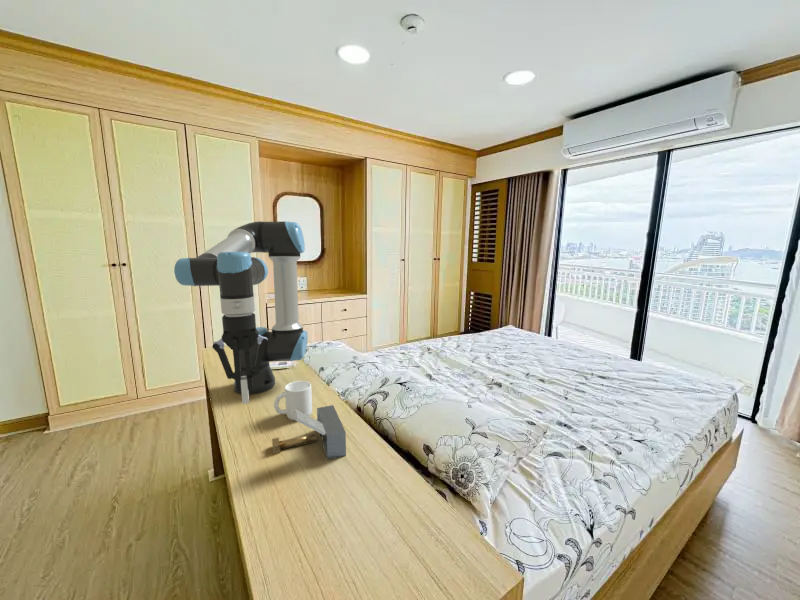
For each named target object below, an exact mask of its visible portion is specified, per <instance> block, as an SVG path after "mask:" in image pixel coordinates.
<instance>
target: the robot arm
mask: <svg viewBox="0 0 800 600" xmlns="http://www.w3.org/2000/svg"><path fill="white" fill-rule="evenodd" d="M305 246H306V244H305V239H304V234H303V230H302V228H301V226H300V225H299V223H297V222H295V221H287V220H286V221H253V222H249V223H246V224H243V225H240V226H238V227H236V228H234V229H233V230H231V231H230V232H229V233H228V235H227V236H226V238H225V239H223V240H221V241H220V242H218V243H217V244H216V245H214V246H211V248H209V249H207V250H206V251H205V252H202V254H200V255H198V256H196V257H185V258H183V257H181V258H179V259H178V260H177V261H176V262H175V265H174V271H173V272H174V275H175V279H176V281H177V282H178V283H179V284H180V285H181V286H190V287H204V286H205V287H211V286H212V287H214V286H218V287H219V294H220V295H219V296H220V309H221V314H223V315H222V317H221V323H222V335H221V338H220V339H219V340H217V341H214V342H213V344H212V346H211V347H212V349H213V351H215V352H216V353H217V355H218V357H219V360H220V362H221V365H222V368H223V370H224V372H225V375H226V377H227V379H228V380H231V379H232V380H234V382H233V388H234V389H233V390H234V392H235V393H237V394H240V395H241V400H242V401H241V402H242V405H247V404H249V403H250V396H249V395H255V394H260V393H264V392H266V391H269V390H270V389H272V388H274V386H275V385H276V377H275V374H274V373H273V371H272V368H271V365H270V362H293V361H295V362H296V361H300V360H302V359H304V357H305V354H306V351H307V348H308V347H307V346H308V335H309V334H308V331H307V330H304V326H303V325H302V324H301V323H300V321H299V296H298V295H299V293H298V268H297V264H298V263H297V262H298V261H299V260H300V259H301V254H303V253H304V252H305V250H306V249H305ZM252 253H263V254H264V253H267V254H268V258H269V259H270V260H271V261H272V266H273V270H272V271H273V289H274V290H273V291H274V294H273V295H274V311H275V312H274V314H275V316H274V317H275V323H274V325H273V326H272V327H271V331H268V328H267V327H263V326H261V327H259V326H257V322H256V314H255V313H254V312H255V311H256V309H255V294H254V286H256V285H258V284H260V283H262V282H263V281H265V280H266V278H267V276H268V273H269V269H268V266H267V264H266V262H264V260H262V259H261V258H258V257H254V256H253V257H252V256H251V254H252ZM225 345H226V346H227V347H228V348H229V349H230V350H232V355H233V366H234V372H233V368H232V367H231V364H230V362H229V358H228V356H227V354H226V353H227V352H226V351H225Z"/></svg>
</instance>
